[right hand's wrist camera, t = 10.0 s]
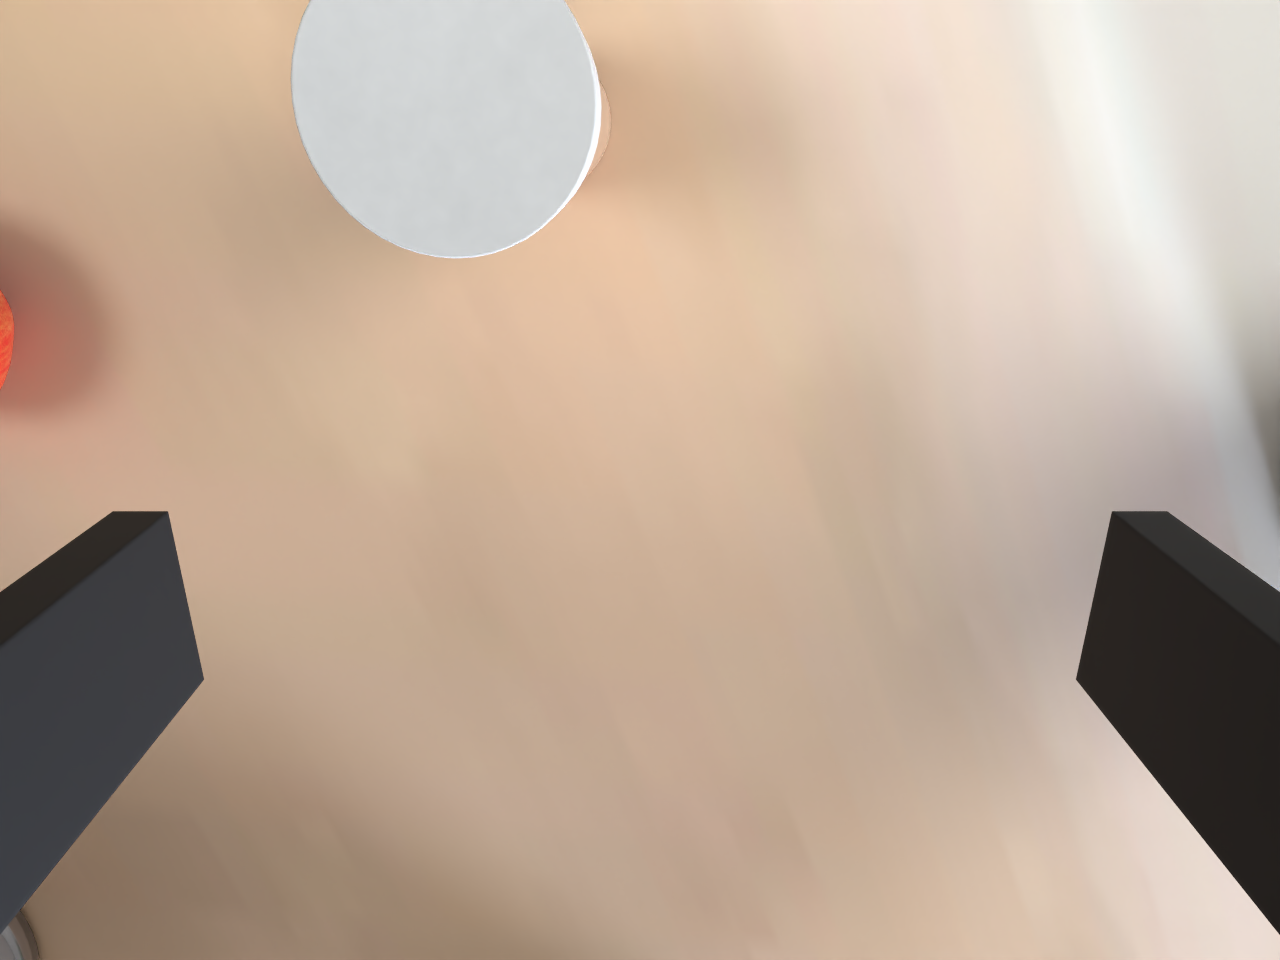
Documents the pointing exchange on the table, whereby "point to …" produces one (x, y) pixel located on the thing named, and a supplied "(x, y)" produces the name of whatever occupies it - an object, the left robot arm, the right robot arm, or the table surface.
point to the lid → (447, 116)
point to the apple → (5, 337)
